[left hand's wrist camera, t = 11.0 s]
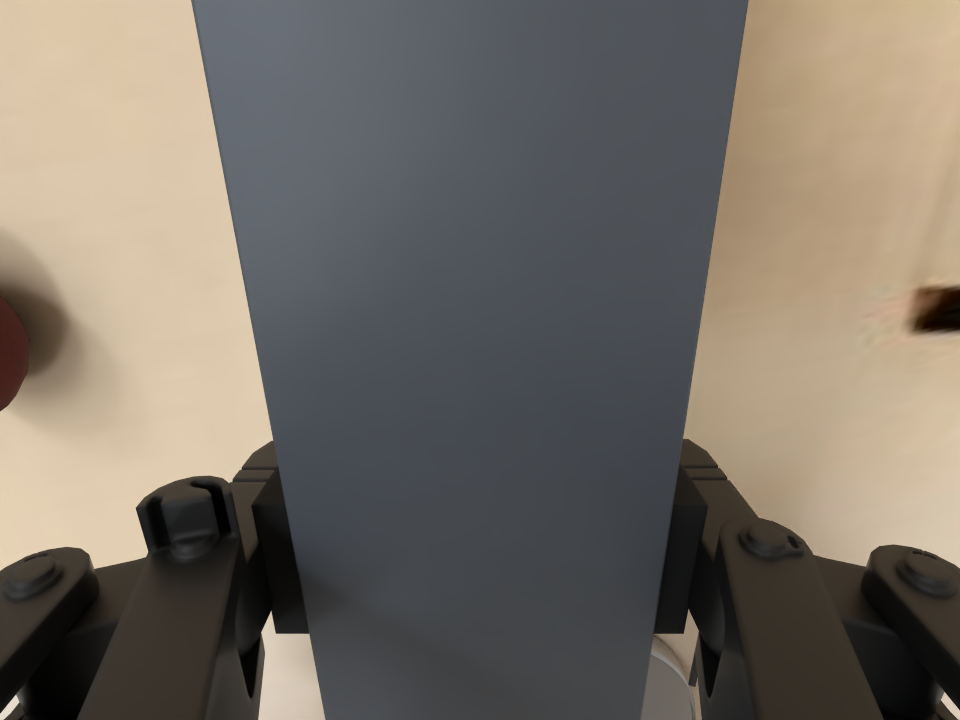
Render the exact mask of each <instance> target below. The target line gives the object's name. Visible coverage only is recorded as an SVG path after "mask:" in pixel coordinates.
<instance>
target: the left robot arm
mask: <svg viewBox="0 0 960 720" xmlns="http://www.w3.org/2000/svg"><path fill="white" fill-rule="evenodd" d="M136 511H137V514H138V517H139V521H140V524H141V528H142V531H143V535H144V538H145V541H146V545H147V548H148V554H147V557H145V558H142V559H138V560H134V561H130V562H125V563H120V564H116V565H111V566H107V567H102V568H97V569H94V567H93V564H92V562H91V559H90V556H89V554H88V553H86V552H85V551H84V550H82V549H80V548H71V547H63V548H56V549H49V550H45V551H41V552H38V553H35V554H32V555H29V556H27V557H24V558H23V559H21V560H19V561H17V562H15V563H13V564H11V565H9V566H7V567H5V568H4V569H3V570H1V571H0V713H1V712H2V711H3V710H4V708H5V707H6V706H7V705H8V703H9V702H10V701H11V700H12V699H13V697H14V696H15V695H17V697H18V699H19V704H18V705H17V706H16V707H15V709H14V710H13V711H12V712H11V714H10V715H8V716H7V717H6V718H5V719H4V720H258V715H259V706H260V696H261V687H262V677H263V667H264V658H265V650H264V644H263V639H262V634H261V631H262V629H263V627H264V625H265V623H266V621H267V619H268V616H269V614H270V612H271V611H272V616H273V621H274V626H275V631H276V634H309V628H308V623H307V618H306V612H305V607H304V601H303V596H302V591H301V585H300V580H299V575H298V569H297V564H296V559H295V553H294V548H293V542H292V537H291V532H290V526H289V521H288V516H287V510H286V505H285V500H284V494H283V489H282V484H281V478H280V473H279V467H278V462H277V457H276V451H275V446H274V441H271V442H269V443H268V444H266V445H265V446H263V447H261V448H260V449H258V450H257V451H255V452H254V453H253V454H252V455H251V456H250V457H249V459H248V460H247V461H246V463H245V464H244V465H243V467H242V470H239V472H238V473H237V474H236V476H235V477H234V478H233V482H230V483H228V482H227V481H226V480H224V479H223V478H218V477H214V476H195V477H190V478H186V479H181V480H177V481H174V482H172V483H170V484H167V485H165V486H162V487H160V488H158V489H157V490H155V491H154V492H152V493H151V494H149V495H148V496H146V497H145V498H144V499H143V500H142V501H141V502H140V503H139V505H138V506H137V507H136ZM688 608H689V610H690V613H691V615H692V617H693V619H694V621H695V623H696V626H697V628H698V630H699V634H698V639H697V643H696V648H695V653H694V658H693V663H692V667H691V672H690V678H689V685H690V686H694V687H695V686H696V681H697V677H698V685H699V695H700V704H701V714H702V720H958V719H957V718H956V717H955V716H954V715H953V714H952V713H951V712H950V711H949V710H948V709H947V707H946V706H945V705H944V704H943V702H942V701H941V698H942V696H943V694H944V692H945V693H946V694H947V695H948V696H949V698H950V699H951V700H952V701H953V703H954V704H955V705H956V706H957V707H958V709H959V710H960V568H958V567H957V566H956V565H954V564H952V563H950V562H948V561H946V560H944V559H942V558H940V557H938V556H937V555H935V554H932V553H929V552H927V551H922V550H920V549H916V548H913V547H906V546H900V545H886V546H879V547H878V548H876V549H875V550H874V551H872V552H871V554H870V557H869V560H868V563H867V566H866V567H864V566H859V565H854V564H850V563H845V562H840V561H836V560H831V559H826V558H822V557H819V556H815V555H813V553H812V551H811V550H810V548H809V547H808V546H807V544H806V543H805V541H804V540H803V539H802V538H800V537H799V536H798V535H796V534H795V533H794V532H792V531H791V530H790V529H788V528H786V527H783V526H781V525H779V524H777V523H775V522H773V521H769V520H765V519H761V518H758V516H757V515H756V514H755V513H754V511H753V510H752V509H751V507H750V506H749V505H748V504H747V502H746V501H745V500H744V498H743V497H742V496H741V495H740V493H739V492H738V491H737V489H736V488H735V487H734V486H733V484H732V483H731V482H730V480H727V477H726V475H725V474H724V473H723V471H722V470H721V469H720V468H718V465H717V464H716V462H715V461H714V460H713V459H712V457H711V456H710V455H709V453H708V452H707V451H705V450H704V449H702V448H701V447H699V446H698V445H696V444H695V443H693V442H692V441H690V440H689V439H683V442H682V448H681V455H680V462H679V468H678V475H677V482H676V488H675V495H674V502H673V509H672V515H671V522H670V529H669V535H668V542H667V549H666V555H665V562H664V569H663V575H662V582H661V589H660V596H659V602H658V609H657V616H656V622H655V629H654V634H684V629H685V624H686V619H687V613H688ZM689 685H688V682H687V680H686V677H685V675H684V672H683V670H682V667H681V665H680V663H679V661H678V659H677V658H676V656H675V655H674V654H673V652H672V651H671V650H670V649H669V648H668V647H667V646H666V645H665V644H664V643H663V642H661V641H660V640H659V639H658V638H656V637H654V636H653V642H652V649H651V656H650V663H649V669H648V676H647V683H646V689H645V696H644V703H643V709H642V716H641V720H695V704H694V699H693V695H692V693H691V690H690V687H689Z"/></svg>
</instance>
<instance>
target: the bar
mask: <svg viewBox="0 0 960 720" xmlns="http://www.w3.org/2000/svg"><path fill="white" fill-rule="evenodd" d="M191 1H192V7H193V12H194V17H195V23H196V28H197V33H198V39H199V44H200V49H201V55H202V60H203V65H204V71H205V76H206V82H207V87H208V92H209V98H210V103H211V108H212V114H213V119H214V124H215V130H216V135H217V141H218V146H219V151H220V157H221V162H222V167H223V173H224V178H225V183H226V189H227V194H228V199H229V205H230V210H231V216H232V221H233V226H234V232H235V237H236V242H237V248H238V253H239V258H240V264H241V269H242V275H243V280H244V285H245V291H246V296H247V301H248V307H249V312H250V317H251V323H252V328H253V333H254V339H255V344H256V350H257V355H258V360H259V366H260V371H261V376H262V382H263V387H264V392H265V398H266V403H267V409H268V414H269V419H270V425H271V430H272V435H273V441H274V446H275V451H276V457H277V462H278V467H279V473H280V478H281V484H282V489H283V494H284V500H285V505H286V510H287V516H288V521H289V526H290V532H291V537H292V542H293V548H294V553H295V559H296V564H297V569H298V575H299V580H300V585H301V591H302V596H303V601H304V607H305V612H306V618H307V623H308V628H309V634H310V639H311V644H312V650H313V655H314V660H315V666H316V671H317V676H318V682H319V687H320V693H321V698H322V703H323V709H324V714H325V719H326V720H641V716H642V709H643V703H644V696H645V689H646V683H647V676H648V669H649V663H650V656H651V649H652V642H653V636H654V629H655V622H656V616H657V609H658V602H659V596H660V589H661V582H662V575H663V569H664V562H665V555H666V549H667V542H668V535H669V529H670V522H671V515H672V509H673V502H674V495H675V488H676V482H677V475H678V468H679V462H680V455H681V448H682V442H683V435H684V428H685V421H686V415H687V408H688V401H689V395H690V388H691V381H692V375H693V368H694V361H695V355H696V348H697V341H698V334H699V328H700V321H701V314H702V308H703V301H704V294H705V288H706V281H707V274H708V267H709V261H710V254H711V247H712V241H713V234H714V227H715V221H716V214H717V207H718V201H719V194H720V187H721V180H722V174H723V167H724V160H725V154H726V147H727V140H728V134H729V127H730V120H731V113H732V107H733V100H734V93H735V87H736V80H737V73H738V67H739V60H740V53H741V47H742V40H743V33H744V26H745V20H746V13H747V6H748V0H191Z"/></svg>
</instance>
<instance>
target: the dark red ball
mask: <svg viewBox="0 0 960 720" xmlns="http://www.w3.org/2000/svg"><path fill="white" fill-rule="evenodd" d="M28 364H29V338H28V335H27V333H26V330H25V328H24V326H23V323H22V321H21V319H20V317H19V316H18V315H17V314H16V312H15V311H14V310H13V308H12V307H11V306H10V305H9V304H8V303H7V302H6V301H5V300H4V299H3V298H2V297H1V296H0V411H1V410H3V409H4V408H5V407H7V406H8V405H9V404H10V402H11V401H12V400H13V399H14V397H15V396H16V394H17V392H18V390H19V388H20V386H21V384H22V382H23V380H24V378H25V376H26V374H27V371H28Z"/></svg>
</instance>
